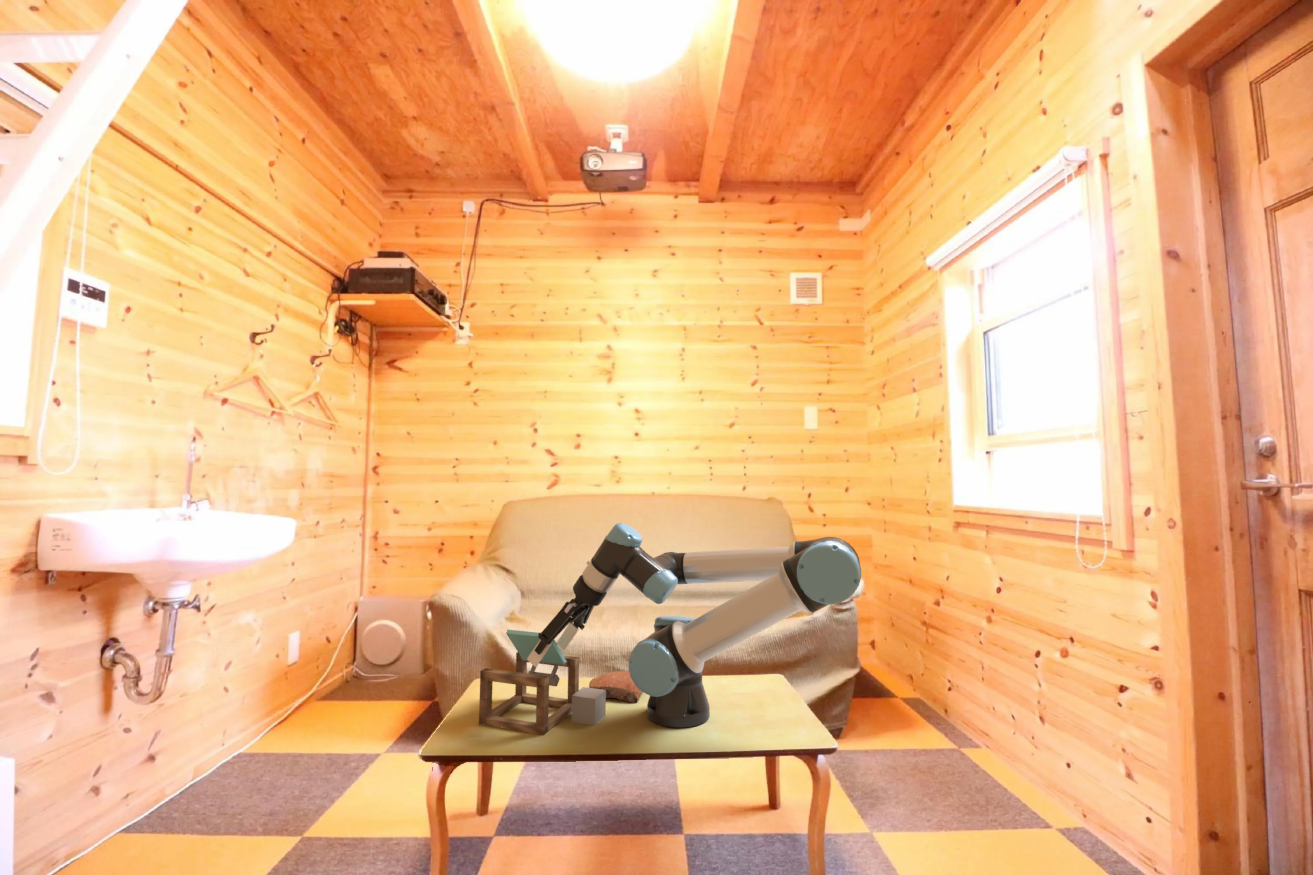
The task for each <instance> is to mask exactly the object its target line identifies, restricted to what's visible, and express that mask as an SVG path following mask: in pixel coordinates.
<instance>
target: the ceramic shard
mask: <svg viewBox="0 0 1313 875" xmlns="http://www.w3.org/2000/svg"><path fill="white" fill-rule="evenodd" d="M588 683H589V684H588V688H594V689H602V690H606V699H618V700H619V701H624V702H630V703H633V704H635V703H638V702H639V700H640V698H641V696H642V695H643V692H642V691H641V690H639V689H638V688H637V686H636V685H635V684H634V682H633V681H632V679H631V676H630V673H629V670H621V671H620V670H619V671H618V670H617V671H611V672H608V673H607V672H606V673H604V674H601V675H598V676H596V677H593V678H592V679H591V680H590V681H589V682H588Z"/></svg>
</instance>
